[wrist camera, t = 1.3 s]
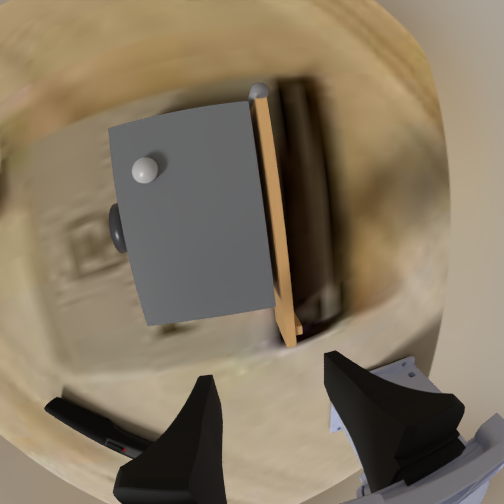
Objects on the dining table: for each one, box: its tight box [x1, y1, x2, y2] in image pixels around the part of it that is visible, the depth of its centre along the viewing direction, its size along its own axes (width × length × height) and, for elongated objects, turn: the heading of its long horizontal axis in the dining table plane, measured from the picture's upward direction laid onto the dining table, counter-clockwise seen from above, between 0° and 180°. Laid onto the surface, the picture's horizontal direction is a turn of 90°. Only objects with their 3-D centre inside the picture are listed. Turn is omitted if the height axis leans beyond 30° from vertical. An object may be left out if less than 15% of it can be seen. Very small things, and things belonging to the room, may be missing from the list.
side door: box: [247, 83, 302, 348], centre depth 17 cm, size 1×16×4 cm, turn 8°
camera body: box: [108, 101, 276, 326], centre depth 17 cm, size 9×12×4 cm
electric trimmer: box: [44, 397, 153, 459], centre depth 22 cm, size 4×16×3 cm, turn 57°
